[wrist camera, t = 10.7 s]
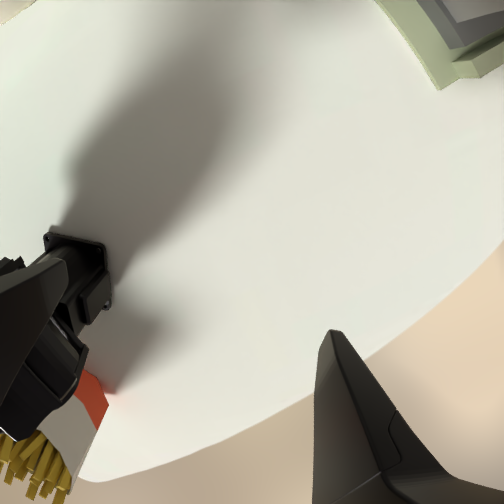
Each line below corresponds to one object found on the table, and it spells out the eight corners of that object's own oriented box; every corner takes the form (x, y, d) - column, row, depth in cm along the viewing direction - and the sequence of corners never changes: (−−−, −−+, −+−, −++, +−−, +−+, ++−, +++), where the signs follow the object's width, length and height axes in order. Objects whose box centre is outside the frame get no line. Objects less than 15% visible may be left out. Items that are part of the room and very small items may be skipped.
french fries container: (42, 338, 29) (-33, 452, 13) (116, 388, 32) (63, 516, 16) (39, 356, 31) (-25, 460, 15) (108, 401, 34) (60, 516, 18)
